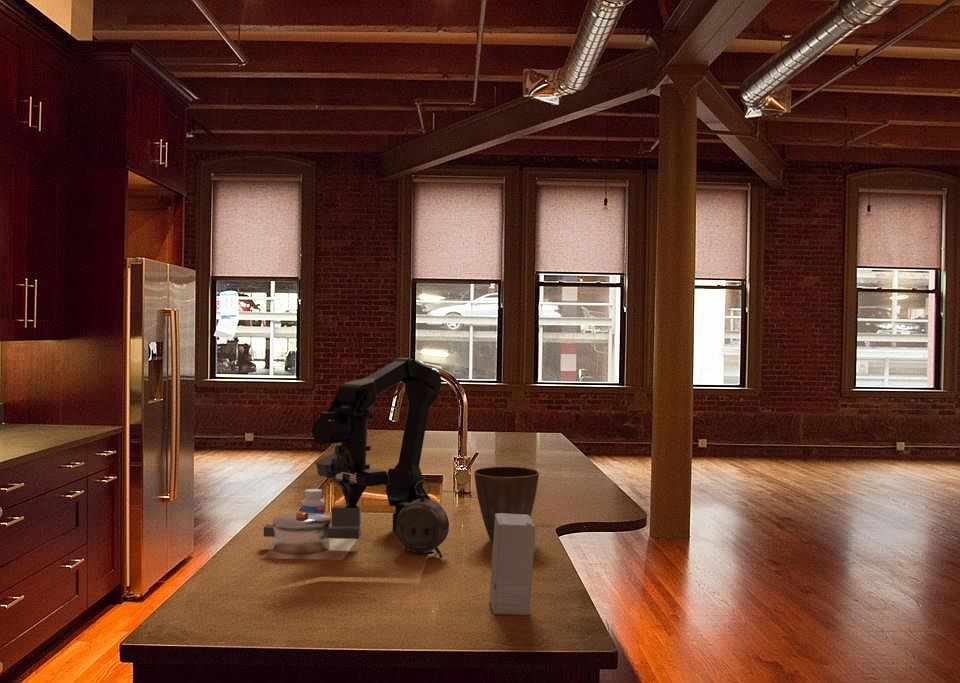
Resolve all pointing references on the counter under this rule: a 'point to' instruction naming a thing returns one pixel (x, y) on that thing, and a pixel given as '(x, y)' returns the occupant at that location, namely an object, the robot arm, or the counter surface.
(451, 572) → the counter surface
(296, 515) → the lid
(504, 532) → the skincare box
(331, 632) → the counter surface
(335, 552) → the trivet
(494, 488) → the plant pot
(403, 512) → the alarm clock
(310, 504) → the pill bottle
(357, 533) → the cooker pot
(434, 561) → the counter surface
